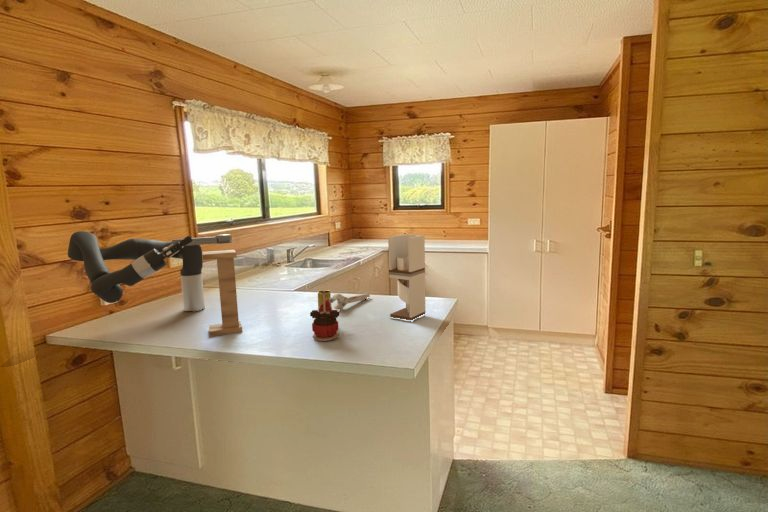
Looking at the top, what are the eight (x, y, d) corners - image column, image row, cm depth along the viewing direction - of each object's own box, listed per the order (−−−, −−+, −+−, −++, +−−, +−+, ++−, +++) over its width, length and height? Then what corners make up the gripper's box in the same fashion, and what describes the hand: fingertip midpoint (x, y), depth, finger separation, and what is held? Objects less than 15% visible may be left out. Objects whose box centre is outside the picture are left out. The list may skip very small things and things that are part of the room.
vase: (321, 328, 173) (319, 294, 171) (316, 324, 178) (314, 291, 176) (335, 326, 176) (333, 292, 174) (330, 322, 181) (328, 289, 179)
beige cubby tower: (404, 312, 194) (403, 234, 188) (425, 315, 187) (424, 235, 182) (390, 318, 184) (388, 237, 179) (411, 322, 178) (409, 238, 173)
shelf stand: (209, 330, 175) (202, 251, 171) (240, 325, 180) (234, 249, 175) (209, 336, 167) (202, 254, 163) (242, 331, 172) (236, 252, 167)
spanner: (173, 245, 165) (172, 237, 165) (231, 241, 173) (230, 233, 173) (172, 247, 160) (171, 238, 159) (232, 242, 168) (231, 235, 167)
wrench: (369, 304, 220) (334, 312, 194) (366, 304, 221) (331, 312, 195) (370, 288, 220) (335, 294, 194) (367, 288, 221) (331, 294, 195)
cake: (309, 342, 158) (306, 294, 155) (314, 334, 167) (312, 288, 164) (338, 342, 157) (336, 293, 154) (341, 334, 166) (340, 288, 164)
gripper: (157, 268, 168) (197, 243, 172) (154, 275, 155) (197, 247, 159) (144, 253, 165) (185, 228, 170) (140, 258, 152) (184, 230, 157)
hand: (190, 237), depth 164 cm, fingers closed on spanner, 3 cm apart
